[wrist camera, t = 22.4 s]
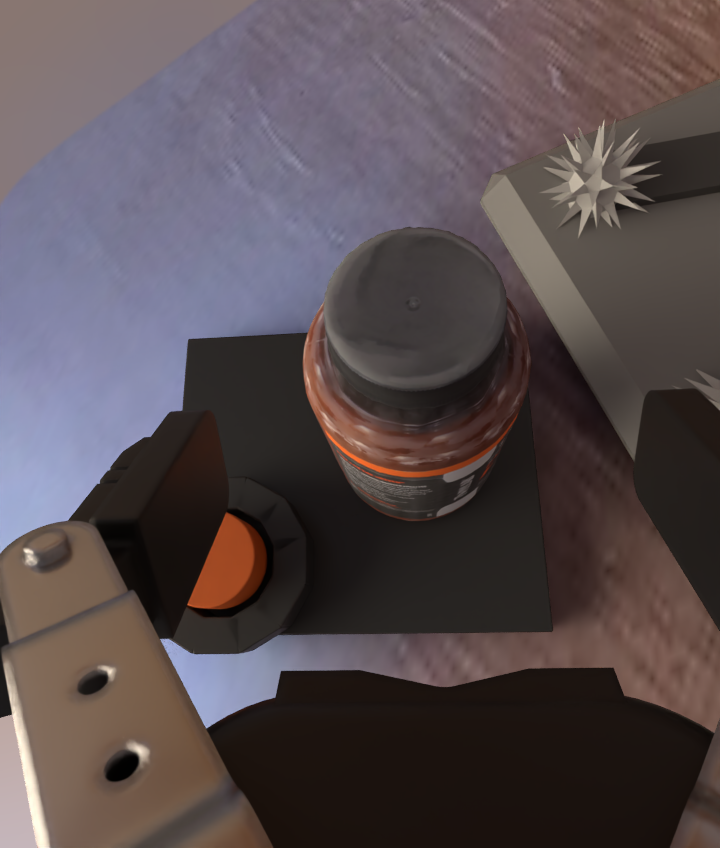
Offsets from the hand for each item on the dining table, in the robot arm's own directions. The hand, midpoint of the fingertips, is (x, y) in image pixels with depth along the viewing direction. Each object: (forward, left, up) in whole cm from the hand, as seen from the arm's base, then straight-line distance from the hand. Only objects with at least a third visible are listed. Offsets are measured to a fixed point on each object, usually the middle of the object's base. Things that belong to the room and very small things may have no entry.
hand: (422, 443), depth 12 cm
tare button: (-7, -1, -11) cm, 13 cm away
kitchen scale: (-3, +2, -13) cm, 14 cm away
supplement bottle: (0, +3, -12) cm, 12 cm away
